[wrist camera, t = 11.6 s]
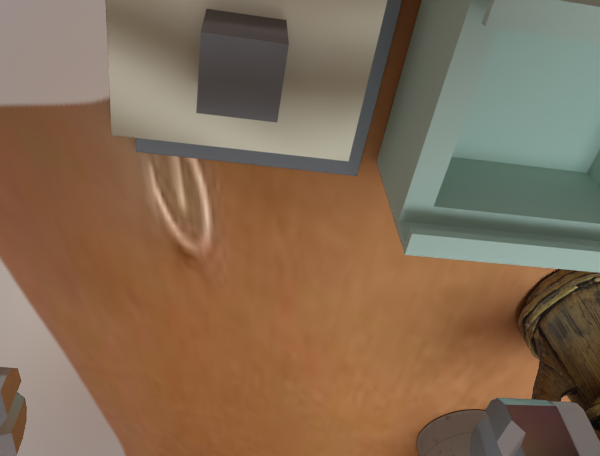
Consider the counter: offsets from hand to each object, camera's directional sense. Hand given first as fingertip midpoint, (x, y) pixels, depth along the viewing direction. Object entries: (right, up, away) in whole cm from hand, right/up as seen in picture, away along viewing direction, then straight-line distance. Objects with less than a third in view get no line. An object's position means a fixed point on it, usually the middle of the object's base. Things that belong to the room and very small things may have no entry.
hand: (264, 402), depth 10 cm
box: (+12, +11, +19) cm, 25 cm away
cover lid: (-2, +12, +17) cm, 21 cm away
